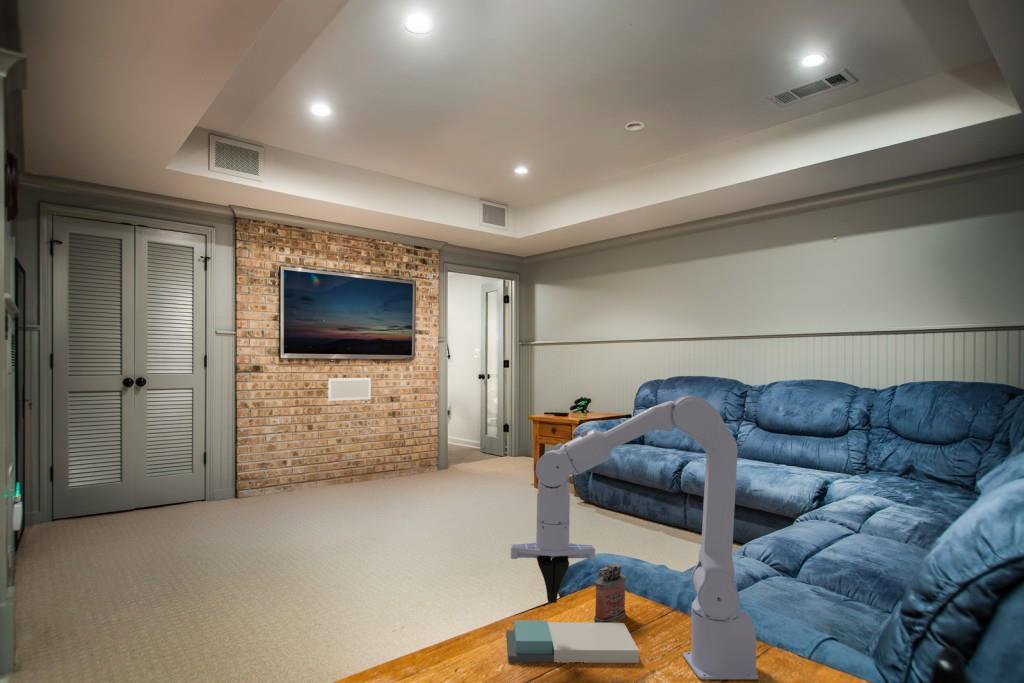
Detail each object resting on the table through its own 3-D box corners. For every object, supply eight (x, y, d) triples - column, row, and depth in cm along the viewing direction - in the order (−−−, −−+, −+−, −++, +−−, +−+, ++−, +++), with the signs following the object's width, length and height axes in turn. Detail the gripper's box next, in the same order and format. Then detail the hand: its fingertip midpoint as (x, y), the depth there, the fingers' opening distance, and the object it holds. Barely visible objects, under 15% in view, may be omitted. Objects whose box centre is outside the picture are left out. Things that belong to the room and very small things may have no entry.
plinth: (623, 634, 103) (623, 622, 103) (638, 662, 92) (639, 650, 92) (547, 633, 102) (547, 622, 102) (554, 662, 92) (554, 649, 92)
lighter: (615, 610, 114) (616, 559, 114) (629, 615, 111) (630, 563, 112) (590, 620, 108) (590, 567, 109) (604, 626, 106) (604, 572, 107)
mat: (547, 636, 101) (547, 630, 101) (554, 662, 92) (554, 656, 92) (506, 635, 101) (506, 630, 101) (508, 662, 91) (508, 656, 92)
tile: (547, 632, 101) (547, 620, 101) (552, 653, 93) (552, 641, 93) (513, 631, 100) (513, 620, 101) (515, 653, 92) (516, 640, 93)
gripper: (590, 515, 103) (589, 592, 102) (510, 514, 102) (509, 591, 101) (597, 525, 96) (596, 607, 95) (512, 524, 95) (510, 607, 94)
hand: (551, 600), depth 97 cm, fingers closed
